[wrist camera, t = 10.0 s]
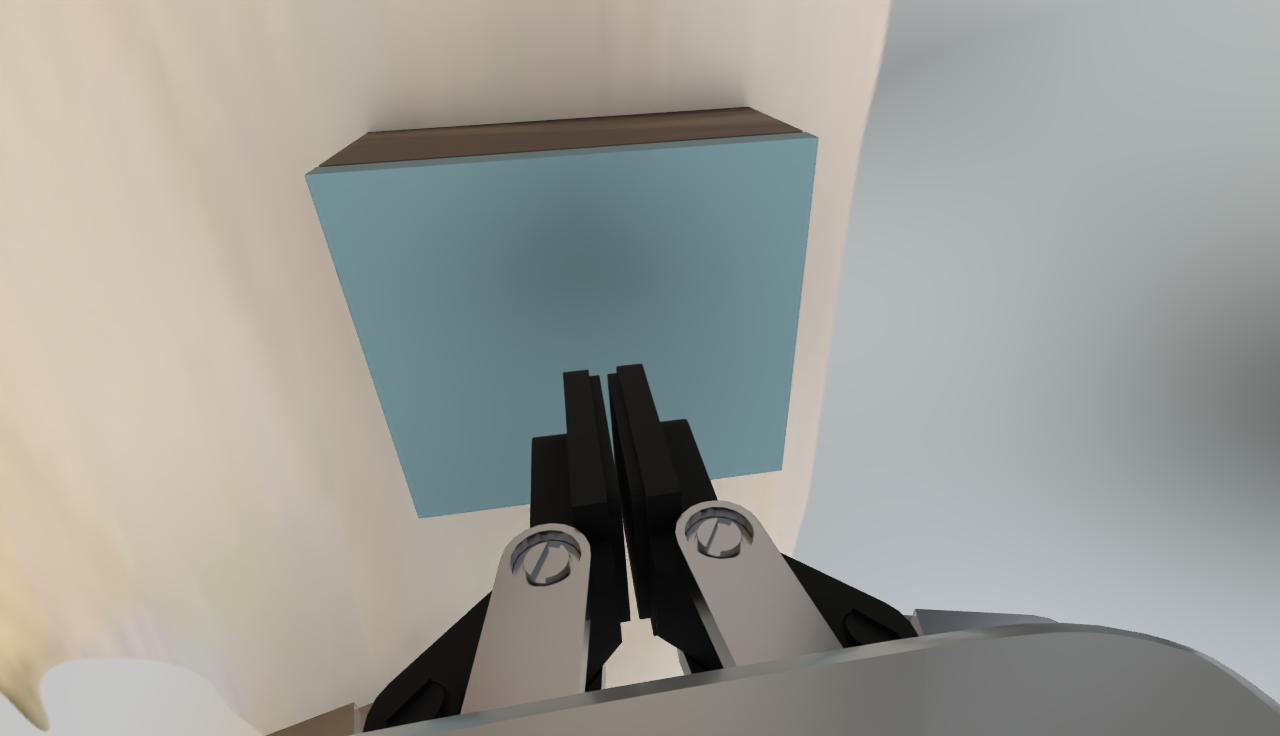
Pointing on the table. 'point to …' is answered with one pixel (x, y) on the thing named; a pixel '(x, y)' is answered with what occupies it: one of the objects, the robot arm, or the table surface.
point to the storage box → (556, 135)
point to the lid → (572, 297)
